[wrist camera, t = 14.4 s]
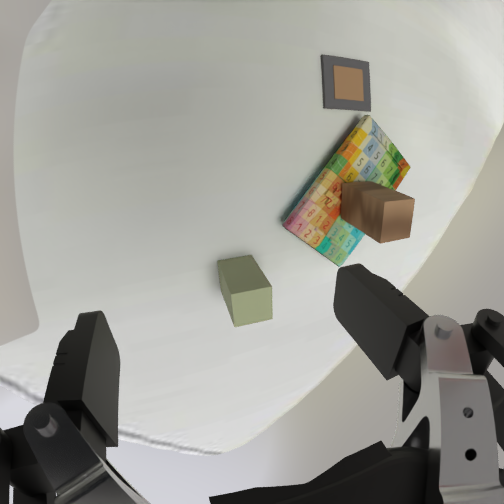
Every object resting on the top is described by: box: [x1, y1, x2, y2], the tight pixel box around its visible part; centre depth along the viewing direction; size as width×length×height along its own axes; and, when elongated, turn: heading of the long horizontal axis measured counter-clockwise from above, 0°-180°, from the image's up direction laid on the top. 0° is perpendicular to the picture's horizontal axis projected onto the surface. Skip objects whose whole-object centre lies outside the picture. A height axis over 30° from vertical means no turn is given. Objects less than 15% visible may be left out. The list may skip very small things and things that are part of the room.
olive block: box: [217, 255, 272, 327], centre depth 40 cm, size 5×5×9 cm
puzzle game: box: [282, 115, 410, 267], centre depth 41 cm, size 12×5×20 cm
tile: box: [321, 55, 371, 112], centre depth 36 cm, size 8×8×1 cm
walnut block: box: [341, 181, 415, 243], centre depth 36 cm, size 5×5×9 cm
